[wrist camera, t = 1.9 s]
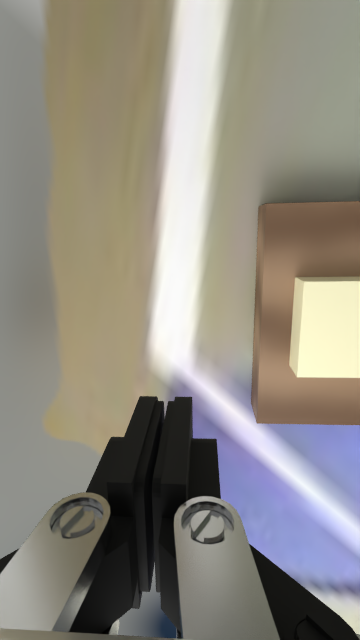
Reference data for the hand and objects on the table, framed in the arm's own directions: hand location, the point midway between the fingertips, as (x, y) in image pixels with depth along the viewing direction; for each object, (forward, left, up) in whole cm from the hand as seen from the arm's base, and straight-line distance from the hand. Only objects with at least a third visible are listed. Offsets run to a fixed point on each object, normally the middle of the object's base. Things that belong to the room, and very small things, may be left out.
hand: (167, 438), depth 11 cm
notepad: (0, +12, -13) cm, 17 cm away
